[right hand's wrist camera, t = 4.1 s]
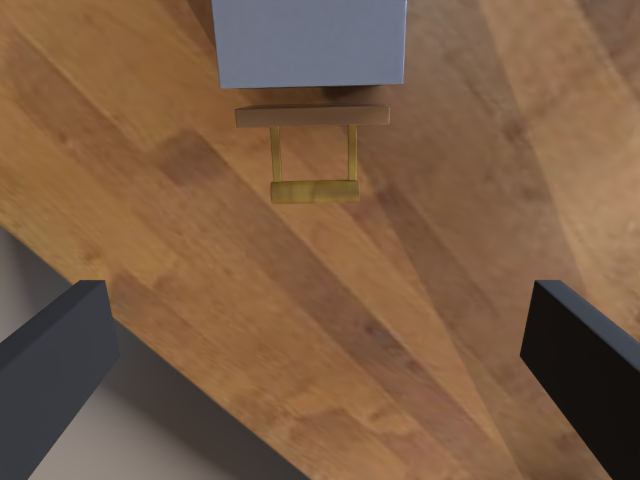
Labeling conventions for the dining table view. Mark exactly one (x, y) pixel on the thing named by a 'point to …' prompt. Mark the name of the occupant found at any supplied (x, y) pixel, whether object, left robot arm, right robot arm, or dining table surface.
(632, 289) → the dining table surface
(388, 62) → the pale lavender box
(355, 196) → the drawer
